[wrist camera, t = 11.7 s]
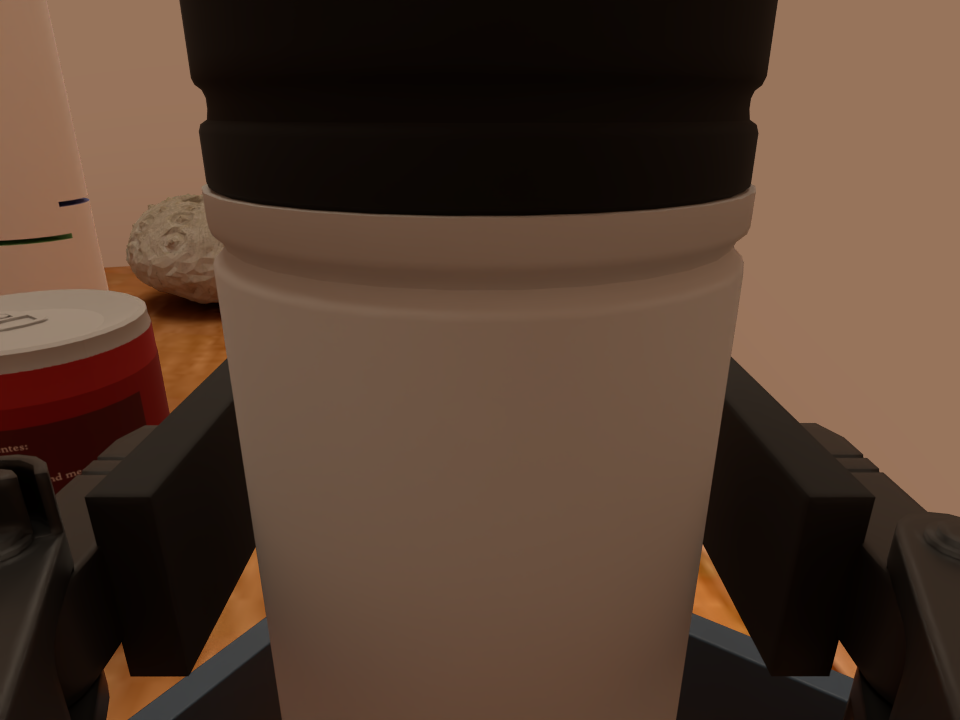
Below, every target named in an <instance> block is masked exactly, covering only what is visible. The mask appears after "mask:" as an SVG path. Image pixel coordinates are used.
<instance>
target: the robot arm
mask: <svg viewBox="0 0 960 720" xmlns="http://www.w3.org/2000/svg"><path fill="white" fill-rule="evenodd" d="M97 458H98V459H97V460H94V461H92V462H91V463H90V464H89V465H88V466H87V467H86V468H85V469H84V470H82V474H81V475H77V476H76V477H75V478H74V479H72V480H71V481H70V482H69V483H68V484H67V485H66V486H65V487H64V488H62V489H61V490H60V491H59V492H58V493H57V494H56V495H55V492H54V489H53V485H52V481H51V478H50V474H49V471H48V467H47V463H46V462H44V461H43V460H41V459H39V458H38V457H36V456H27V455H19V454H17V455H5V456H0V720H106V717H107V711H108V704H109V691H108V684H107V680H106V677H105V673H104V670H103V669H104V668H105V666H106V665H107V663H108V662H109V660H110V659H111V657H112V656H113V654H114V653H115V651H116V650H117V648H118V647H119V645H120V644H121V642H122V645H123V649H124V653H125V657H126V661H127V664H128V668H129V672H130V676H189V675H190V673H191V671H192V669H193V667H194V665H195V663H196V661H197V659H198V657H199V655H200V654H201V652H202V650H203V648H204V646H205V644H206V642H207V640H208V638H209V636H210V634H211V632H212V630H213V628H214V626H215V625H216V623H217V621H218V619H219V617H220V615H221V613H222V611H223V609H224V607H225V605H226V603H227V601H228V599H229V597H230V596H231V594H232V592H233V590H234V588H235V586H236V584H237V582H238V580H239V578H240V576H241V574H242V572H243V570H244V568H245V566H246V565H247V563H248V561H249V559H250V557H251V555H252V553H253V551H254V549H255V547H256V544H255V538H254V531H253V524H252V518H251V511H250V505H249V498H248V491H247V485H246V478H245V471H244V465H243V458H242V452H241V445H240V438H239V432H238V425H237V418H236V412H235V405H234V399H233V392H232V385H231V379H230V372H229V365H228V359H226V360H225V361H224V362H223V363H222V364H221V365H220V366H219V367H218V368H217V369H216V370H215V371H214V372H213V373H212V374H211V375H210V376H209V377H207V378H206V379H205V380H204V381H203V382H202V383H201V384H200V385H199V386H198V387H197V388H196V389H195V390H194V391H193V392H192V393H191V394H190V395H189V396H188V397H187V398H186V399H185V400H184V401H183V402H182V403H181V404H180V405H179V406H178V407H177V408H176V409H175V410H174V411H172V412H171V413H170V414H169V415H168V416H167V417H166V418H165V419H164V420H163V421H162V422H161V423H160V424H159V425H145V426H143V427H141V428H139V429H137V430H135V431H133V432H131V433H129V434H127V435H125V436H123V437H121V438H119V439H117V440H116V441H115V442H114V443H112V444H111V445H110V446H109V447H108V448H107V449H106V450H105V451H104V452H102V453H101V454H100V455H99V456H98V457H97ZM703 545H704V547H705V549H706V551H707V553H708V555H709V557H710V559H711V561H712V563H713V565H714V566H715V568H716V570H717V572H718V574H719V576H720V578H721V580H722V582H723V584H724V586H725V588H726V590H727V592H728V594H729V595H730V597H731V599H732V601H733V603H734V605H735V607H736V609H737V611H738V613H739V615H740V617H741V619H742V621H743V623H744V625H745V626H746V628H747V630H748V632H749V634H750V636H751V638H752V640H753V642H754V644H755V646H756V648H757V650H758V652H759V654H760V655H761V657H762V659H763V661H764V663H765V665H766V667H767V669H768V671H769V673H770V675H771V676H830V672H831V668H832V664H833V661H834V657H835V653H836V649H837V645H838V641H839V640H840V642H841V643H842V645H843V646H844V648H845V649H846V651H847V652H848V654H849V655H850V657H851V658H852V660H853V661H854V662H855V664H856V665H857V670H856V673H855V677H854V680H853V684H852V688H851V691H850V695H849V698H848V702H847V706H846V709H845V713H844V717H843V720H960V517H957V516H954V515H950V514H943V513H933V512H927V511H926V510H925V509H923V508H922V507H921V506H920V505H919V504H918V503H917V502H916V501H915V500H913V499H912V498H911V497H910V496H909V495H908V494H907V493H906V492H904V491H903V490H902V489H901V488H900V487H899V486H898V485H897V484H896V483H894V482H893V481H892V480H891V479H890V478H889V477H888V476H887V475H885V474H884V473H879V468H878V467H876V466H875V465H874V464H873V463H872V462H871V461H870V460H869V459H867V458H863V454H862V453H861V452H860V451H859V450H857V449H856V448H855V447H854V446H853V445H852V444H851V443H850V442H848V441H847V440H846V439H845V438H844V437H842V436H840V435H838V434H836V433H834V432H832V431H830V430H828V429H826V428H824V427H822V426H820V425H818V424H816V423H799V422H798V421H797V420H796V419H795V418H794V417H793V416H792V415H791V414H790V413H789V412H787V411H786V410H785V409H784V408H783V407H782V406H781V405H780V404H779V403H778V402H777V401H776V400H775V399H774V398H773V397H772V396H771V395H770V394H769V393H768V392H767V391H766V390H765V389H764V388H763V387H762V386H761V385H760V384H759V383H758V382H757V381H756V380H755V379H754V378H753V377H751V376H750V375H749V374H748V373H747V372H746V371H745V370H744V369H743V368H742V367H741V366H740V365H739V364H738V363H737V362H736V361H735V360H734V359H733V358H732V357H731V358H730V365H729V372H728V378H727V385H726V391H725V398H724V405H723V411H722V418H721V425H720V431H719V438H718V445H717V451H716V458H715V464H714V471H713V478H712V484H711V491H710V498H709V504H708V511H707V517H706V524H705V531H704V537H703Z"/></svg>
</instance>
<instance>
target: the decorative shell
mask: <svg viewBox="0 0 960 720" xmlns="http://www.w3.org/2000/svg"><path fill="white" fill-rule="evenodd" d="M223 247H224V244H223V243H221V242H220V241H219V240H217V239H216V238H215V237H213V236H212V234H211V232H210V230H209V227H208V223H207V220H206V213H205V207H204V200H203V194H202V195H199V196H197V195H189V194H187V195H184V196H177V197H173V198H167V199H166V200H165V201H162V202H161V203H159V204H157V205H148V210H147V211H146V212H144V213H143V214H142V216H141V217H140V218H139V219H138V221H137V222H136V223H135V224H133V228H132V231H131V234H130V238H129V242H128V245H127V249H126V260H127V262H128V263H129V265H130V267H131V269H132V271H133V272H134V274H135V275H136V276H137V278H138V279H140V280H141V281H142V282H143V283H145V284H147V285H149V286H152V287H153V288H155V289H157V290H158V291H161V292H167V293H170V294H174V295H177V296H179V297H183V298H186V299H188V300H190V301H196V302H198V303H202V304H208V303H212V302H213V303H218V302H219V299H218V293H217V286H216V279H215V273H214V266H213V263H214V260H215V258H216V256H217V255H218V254H219V252H220V251H221V250H222V248H223Z"/></svg>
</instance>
